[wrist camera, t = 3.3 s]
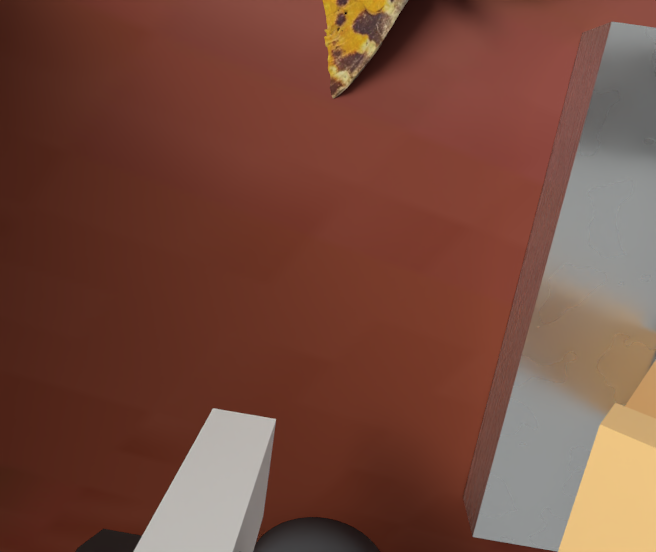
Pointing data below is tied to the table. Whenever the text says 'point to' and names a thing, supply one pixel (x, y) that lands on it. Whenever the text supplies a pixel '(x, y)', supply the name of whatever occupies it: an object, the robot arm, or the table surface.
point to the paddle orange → (619, 481)
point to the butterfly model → (355, 36)
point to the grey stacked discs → (314, 537)
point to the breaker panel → (575, 298)
